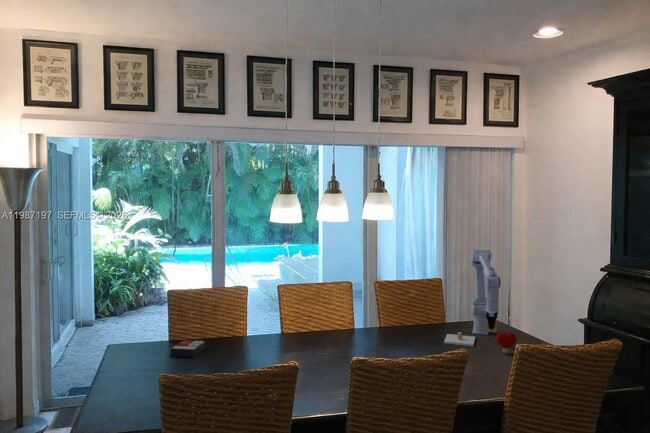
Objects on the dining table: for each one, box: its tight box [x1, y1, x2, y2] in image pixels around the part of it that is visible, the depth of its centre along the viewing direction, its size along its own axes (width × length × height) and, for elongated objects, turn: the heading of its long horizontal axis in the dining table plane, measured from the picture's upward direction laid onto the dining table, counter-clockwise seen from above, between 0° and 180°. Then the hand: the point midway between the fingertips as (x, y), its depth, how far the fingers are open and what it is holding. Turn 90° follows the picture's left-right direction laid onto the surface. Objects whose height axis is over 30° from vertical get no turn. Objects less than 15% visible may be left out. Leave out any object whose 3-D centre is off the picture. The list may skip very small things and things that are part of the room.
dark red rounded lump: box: [495, 331, 518, 355], centre depth 248 cm, size 9×7×10 cm
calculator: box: [170, 339, 206, 358], centre depth 247 cm, size 11×4×15 cm
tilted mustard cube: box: [486, 319, 498, 333], centre depth 264 cm, size 5×5×5 cm
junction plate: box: [443, 331, 476, 347], centre depth 268 cm, size 14×14×4 cm
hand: (491, 327), depth 264 cm, fingers closed on tilted mustard cube, 5 cm apart
